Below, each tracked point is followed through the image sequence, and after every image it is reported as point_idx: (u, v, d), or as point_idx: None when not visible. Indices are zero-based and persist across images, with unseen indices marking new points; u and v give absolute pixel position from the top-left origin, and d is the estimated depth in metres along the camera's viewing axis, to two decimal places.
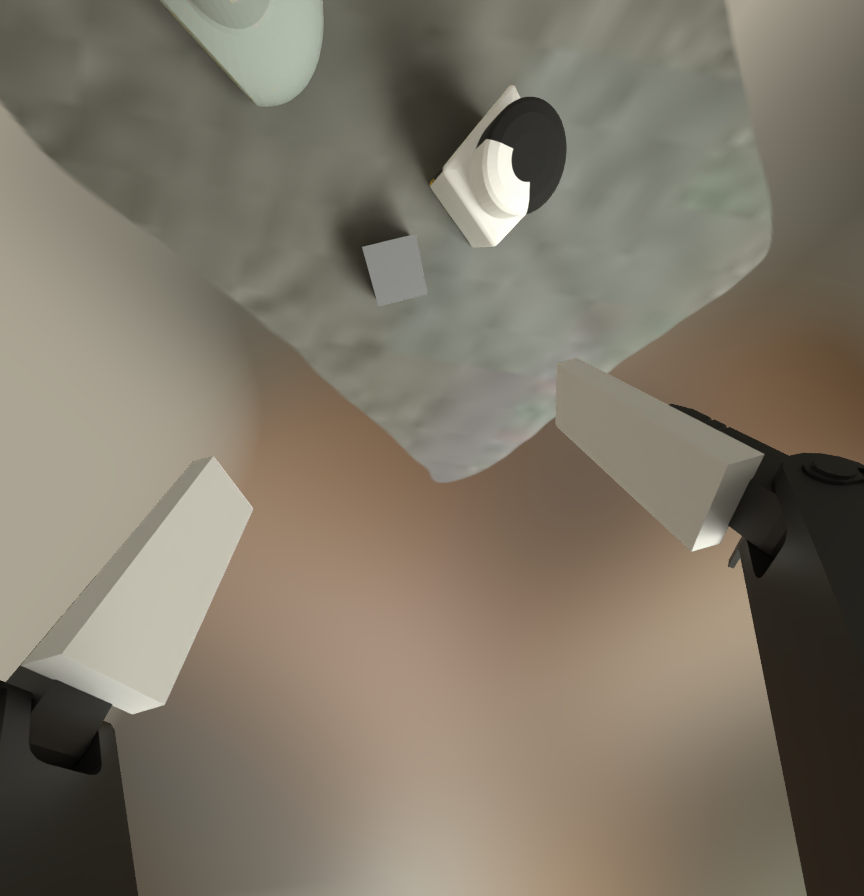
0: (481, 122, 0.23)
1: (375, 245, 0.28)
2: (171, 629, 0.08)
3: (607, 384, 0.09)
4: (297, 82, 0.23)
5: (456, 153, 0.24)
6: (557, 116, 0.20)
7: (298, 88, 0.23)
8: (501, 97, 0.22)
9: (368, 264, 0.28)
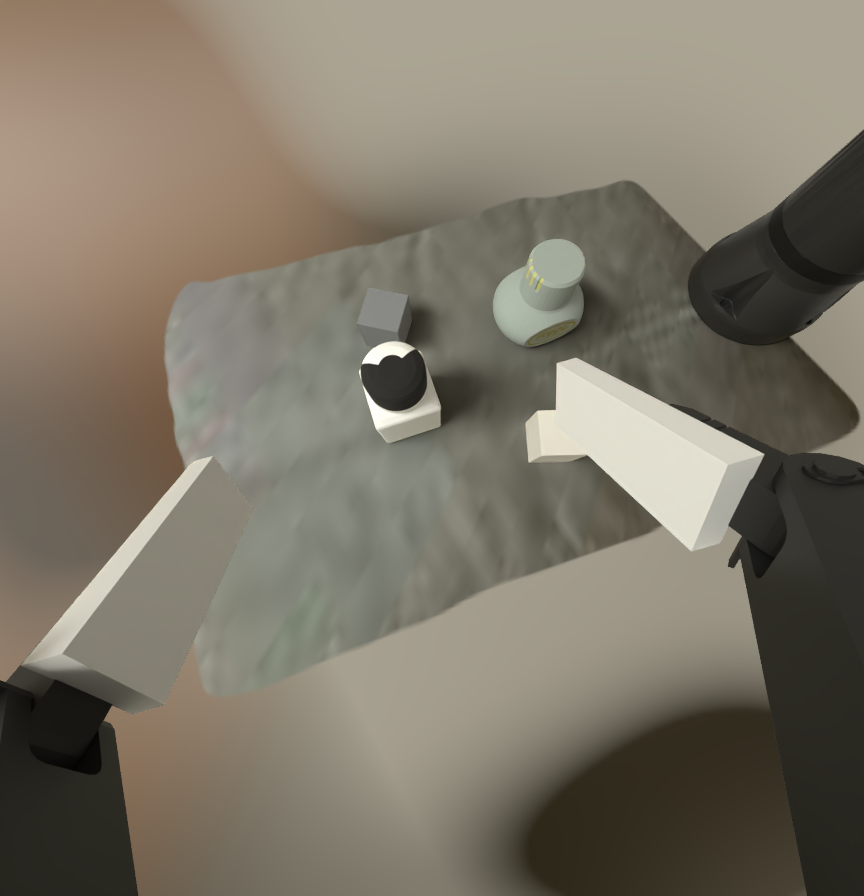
0: (431, 382, 0.32)
1: (404, 303, 0.37)
2: (171, 629, 0.08)
3: (607, 384, 0.09)
4: (496, 308, 0.38)
5: (424, 361, 0.33)
6: (405, 396, 0.27)
7: (494, 309, 0.38)
8: (437, 399, 0.32)
9: (396, 294, 0.37)
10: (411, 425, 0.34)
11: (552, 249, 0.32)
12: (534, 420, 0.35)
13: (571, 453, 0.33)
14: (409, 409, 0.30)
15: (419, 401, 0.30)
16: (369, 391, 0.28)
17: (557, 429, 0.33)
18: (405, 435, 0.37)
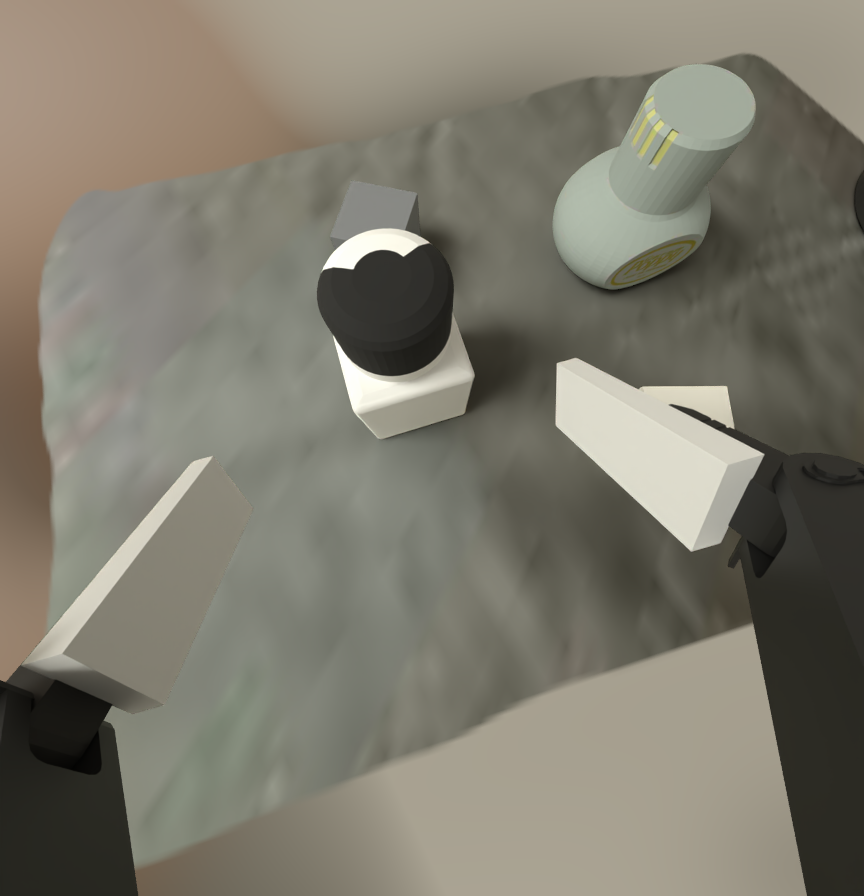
0: (457, 329, 0.18)
1: (411, 206, 0.22)
2: (171, 629, 0.08)
3: (607, 384, 0.09)
4: (561, 221, 0.23)
5: None
6: (408, 337, 0.13)
7: (557, 224, 0.23)
8: (468, 360, 0.17)
9: (397, 190, 0.22)
10: (418, 408, 0.19)
11: (691, 81, 0.17)
12: None
13: None
14: (416, 373, 0.16)
15: (436, 358, 0.16)
16: (333, 326, 0.13)
17: None
18: (407, 426, 0.22)
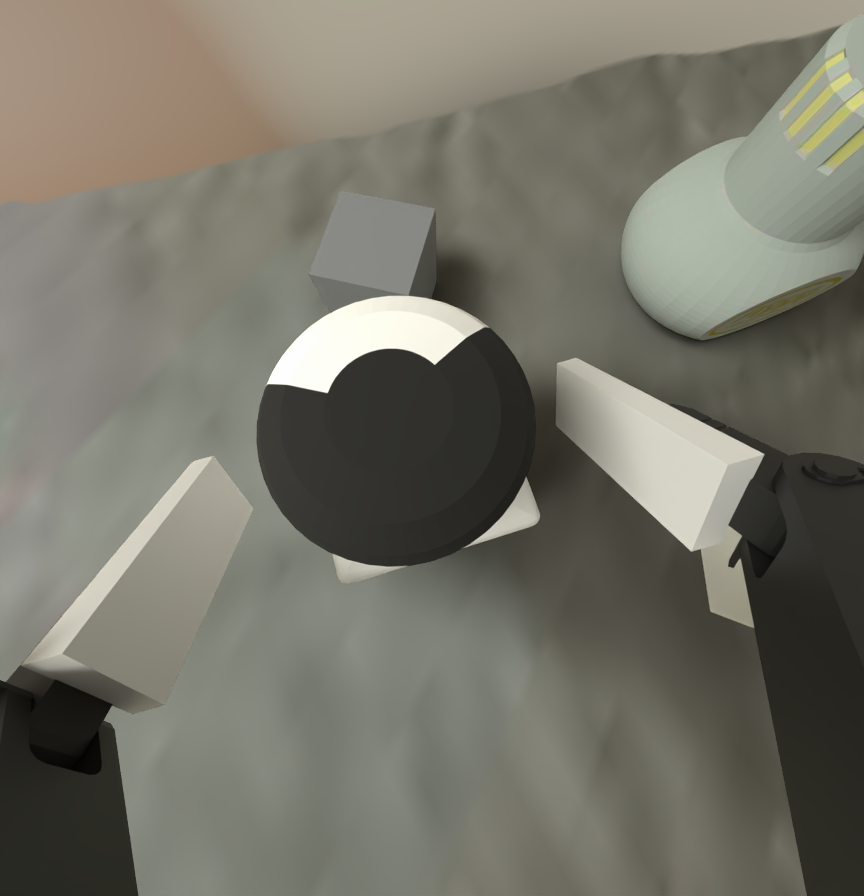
0: None
1: (426, 228, 0.15)
2: (171, 629, 0.08)
3: (607, 384, 0.09)
4: (641, 247, 0.16)
5: None
6: (448, 543, 0.06)
7: (633, 251, 0.16)
8: (530, 490, 0.10)
9: (407, 205, 0.15)
10: None
11: None
12: None
13: None
14: None
15: None
16: (286, 511, 0.06)
17: None
18: None
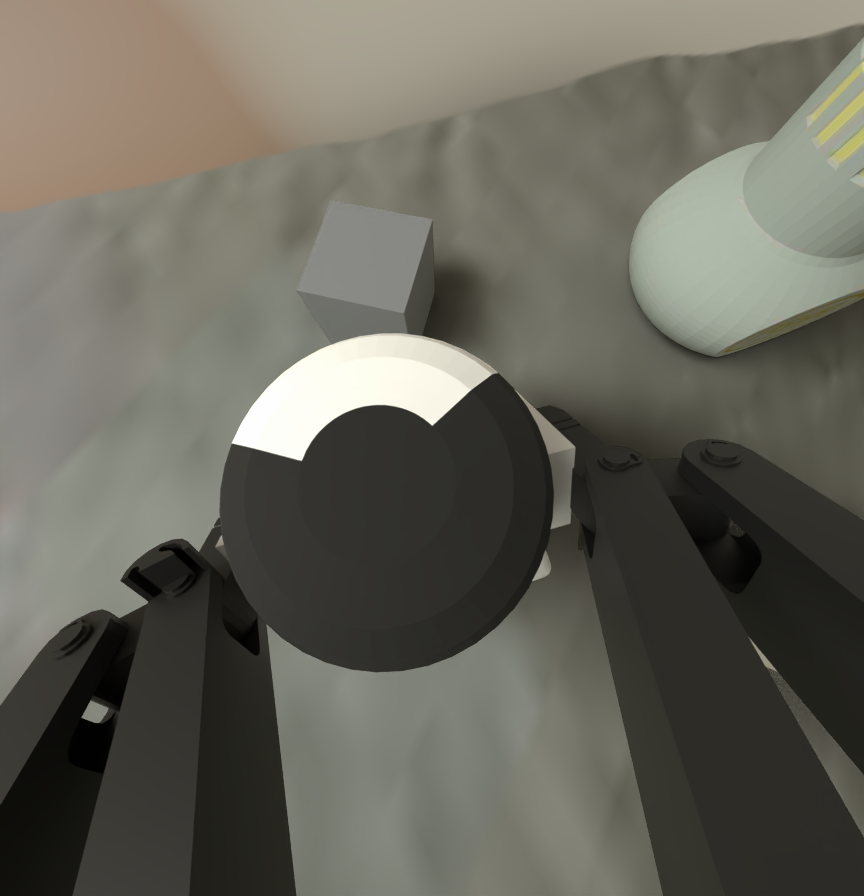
0: None
1: (423, 240, 0.14)
2: None
3: None
4: (652, 260, 0.15)
5: None
6: (449, 648, 0.05)
7: (643, 264, 0.15)
8: None
9: (402, 216, 0.14)
10: None
11: None
12: None
13: None
14: None
15: None
16: (251, 602, 0.05)
17: None
18: None
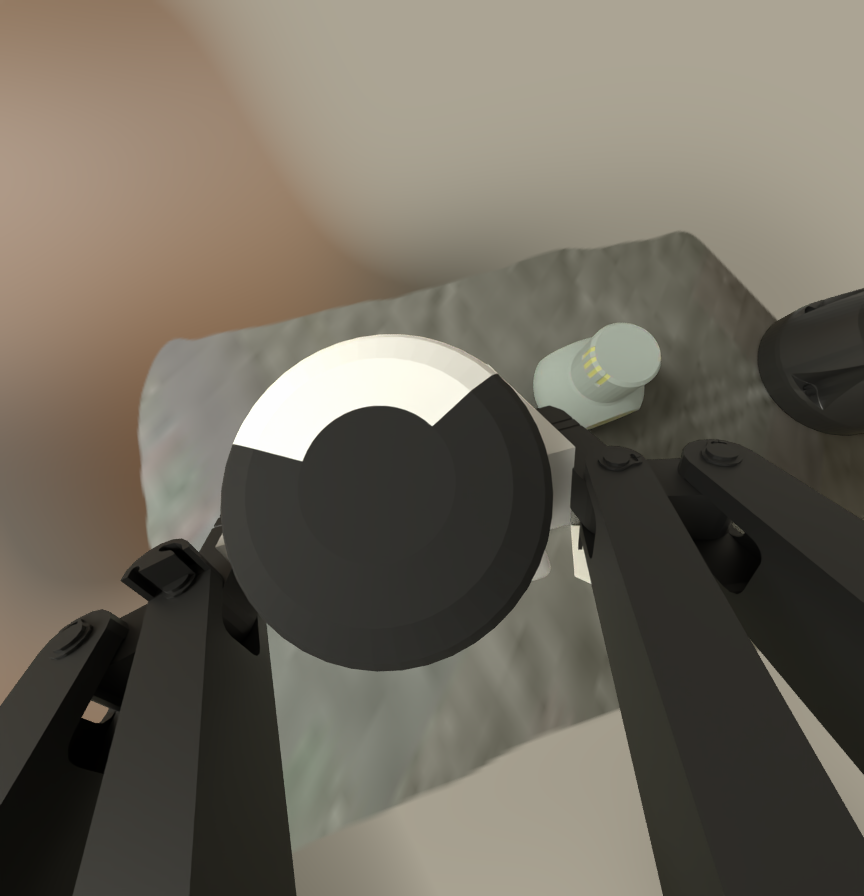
0: None
1: None
2: None
3: None
4: (538, 391, 0.31)
5: None
6: (448, 648, 0.05)
7: (536, 391, 0.32)
8: None
9: None
10: None
11: (619, 336, 0.26)
12: None
13: None
14: None
15: None
16: (252, 602, 0.05)
17: None
18: None
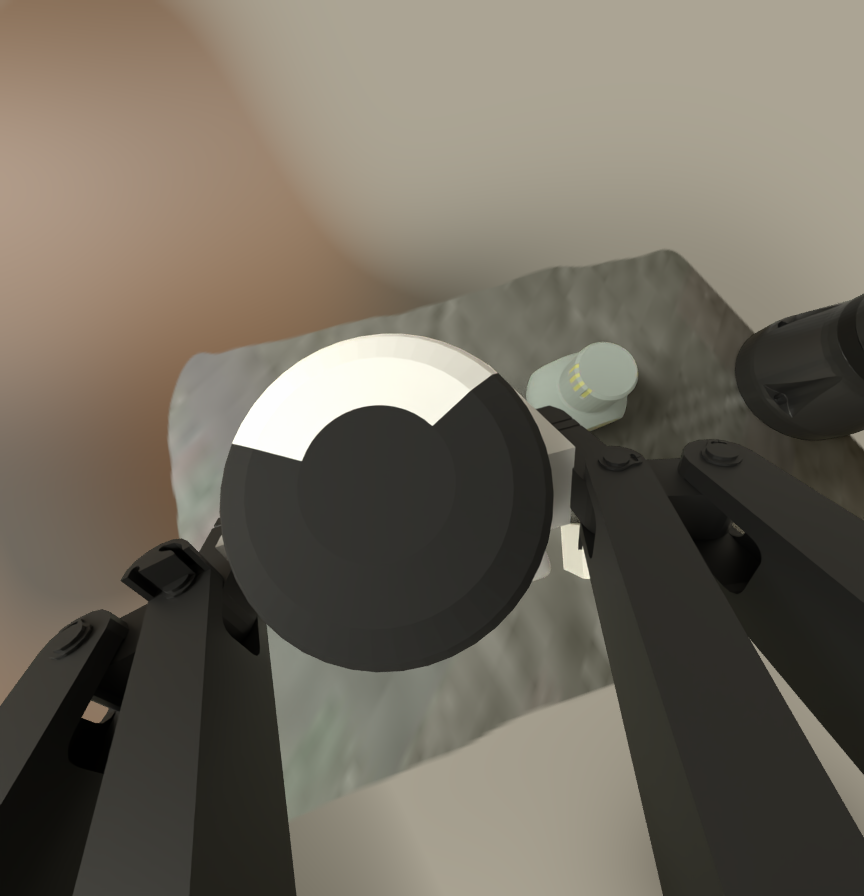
0: None
1: None
2: None
3: None
4: (531, 401, 0.34)
5: None
6: (449, 648, 0.05)
7: (528, 401, 0.35)
8: None
9: None
10: None
11: (601, 355, 0.29)
12: (574, 531, 0.32)
13: None
14: None
15: None
16: (251, 603, 0.05)
17: None
18: None
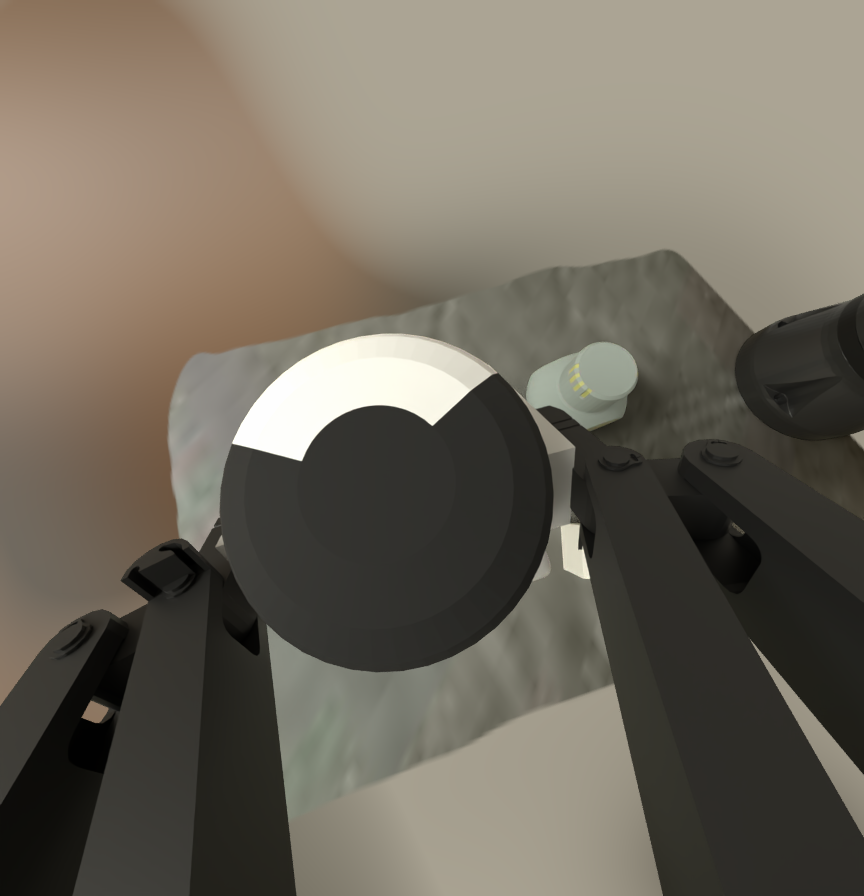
0: None
1: None
2: None
3: None
4: (531, 401, 0.34)
5: None
6: (449, 648, 0.05)
7: (528, 401, 0.35)
8: None
9: None
10: None
11: (601, 355, 0.29)
12: (574, 531, 0.32)
13: None
14: None
15: None
16: (251, 603, 0.05)
17: None
18: None
